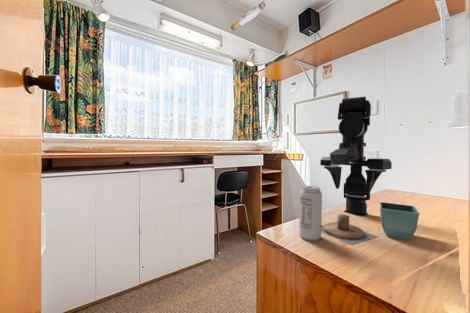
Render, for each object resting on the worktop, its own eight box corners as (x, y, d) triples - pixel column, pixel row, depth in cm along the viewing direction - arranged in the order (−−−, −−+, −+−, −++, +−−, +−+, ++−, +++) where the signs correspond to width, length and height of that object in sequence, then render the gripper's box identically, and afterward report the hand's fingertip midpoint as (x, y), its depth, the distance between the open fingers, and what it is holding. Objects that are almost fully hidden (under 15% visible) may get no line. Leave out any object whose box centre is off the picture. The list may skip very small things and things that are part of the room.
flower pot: (418, 245, 58) (419, 212, 58) (379, 238, 63) (380, 208, 63) (413, 234, 66) (414, 205, 65) (378, 229, 70) (379, 201, 70)
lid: (316, 229, 69) (316, 213, 69) (339, 223, 74) (339, 209, 74) (348, 242, 59) (348, 224, 59) (371, 235, 64) (372, 218, 64)
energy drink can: (325, 241, 60) (326, 188, 60) (305, 243, 59) (306, 189, 59) (313, 233, 66) (314, 185, 66) (295, 235, 65) (296, 185, 65)
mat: (311, 229, 70) (311, 227, 70) (336, 223, 76) (336, 222, 76) (352, 246, 58) (352, 244, 58) (378, 237, 63) (378, 236, 63)
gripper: (309, 139, 69) (309, 188, 69) (372, 137, 53) (371, 200, 53) (330, 140, 75) (330, 185, 75) (393, 138, 59) (391, 195, 59)
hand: (351, 191), depth 66 cm, fingers open, 9 cm apart
